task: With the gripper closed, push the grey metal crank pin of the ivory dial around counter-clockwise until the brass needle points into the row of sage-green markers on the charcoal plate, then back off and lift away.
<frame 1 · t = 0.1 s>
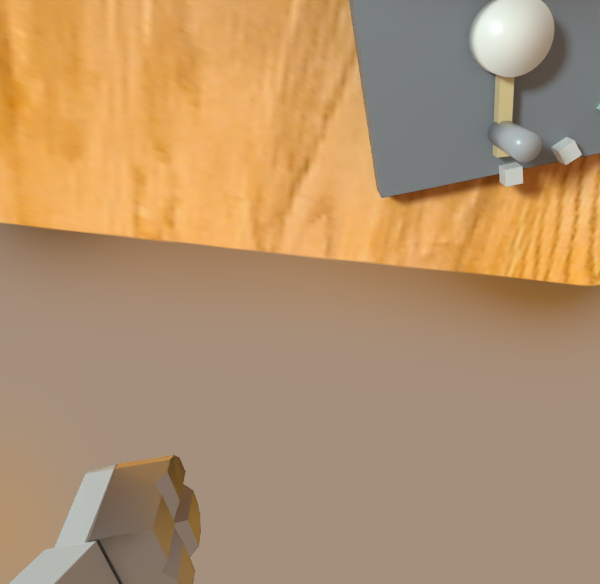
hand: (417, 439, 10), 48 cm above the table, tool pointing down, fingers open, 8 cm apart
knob: (515, 83, 47), point 6 cm above the table, hinge at 0.0°
dial plate: (490, 33, 51), on the table
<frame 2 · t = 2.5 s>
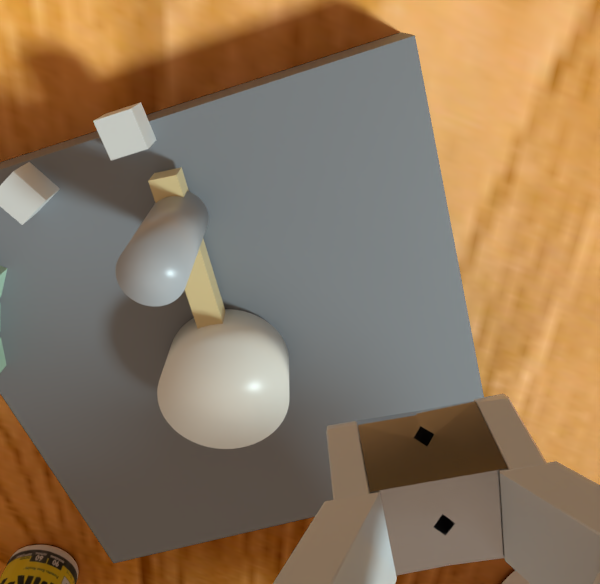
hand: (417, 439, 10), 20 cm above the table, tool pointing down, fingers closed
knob: (201, 336, 24), point 6 cm above the table, hinge at 0.0°
dial plate: (234, 329, 31), on the table
supplement bottle: (46, 562, 40), on the table
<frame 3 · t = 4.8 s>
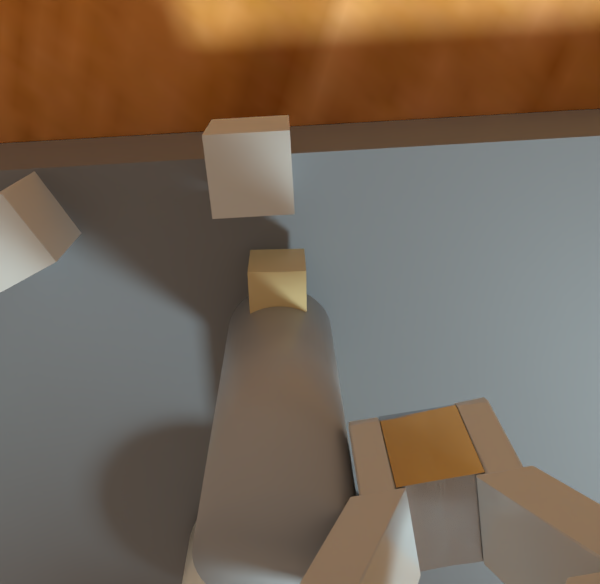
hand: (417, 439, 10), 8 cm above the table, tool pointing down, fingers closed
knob: (285, 566, 13), point 6 cm above the table, hinge at 2.9°, touching gripper
dial plate: (287, 473, 20), on the table
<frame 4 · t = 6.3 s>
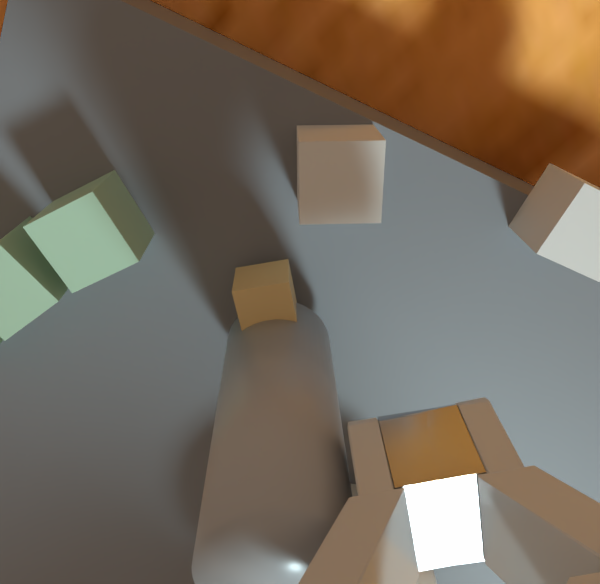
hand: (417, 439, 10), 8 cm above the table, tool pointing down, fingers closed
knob: (315, 574, 13), point 6 cm above the table, hinge at 39.3°, touching gripper
dial plate: (320, 477, 20), on the table
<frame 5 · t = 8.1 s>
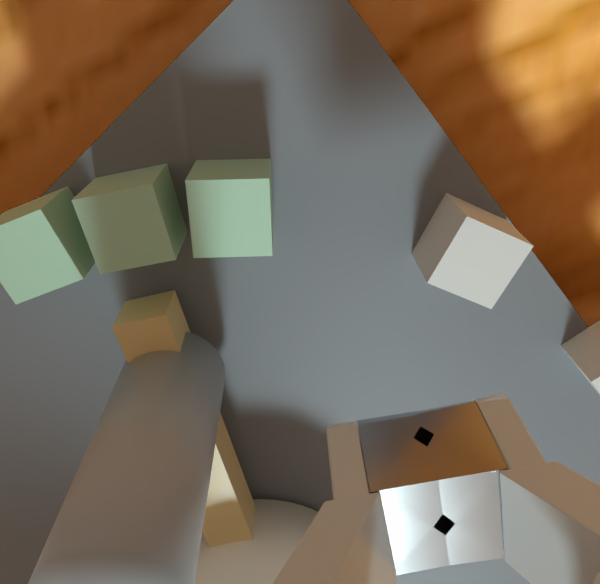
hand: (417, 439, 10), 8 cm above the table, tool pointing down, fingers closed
dial plate: (263, 491, 21), on the table
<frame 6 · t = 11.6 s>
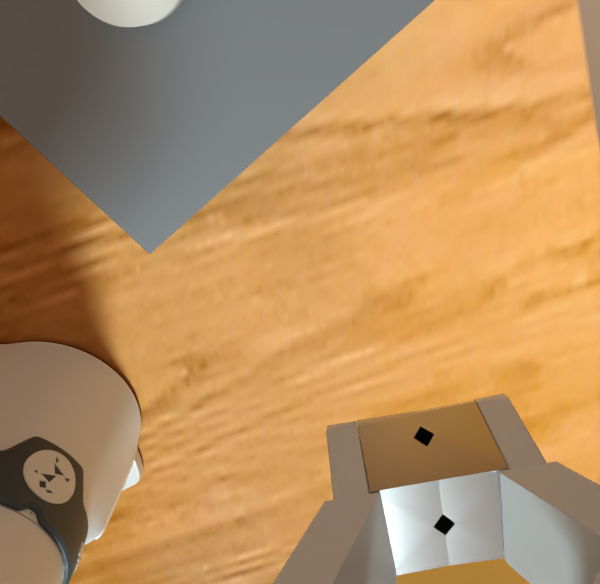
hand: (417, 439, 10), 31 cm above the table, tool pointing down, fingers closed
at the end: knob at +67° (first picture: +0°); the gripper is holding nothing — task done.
